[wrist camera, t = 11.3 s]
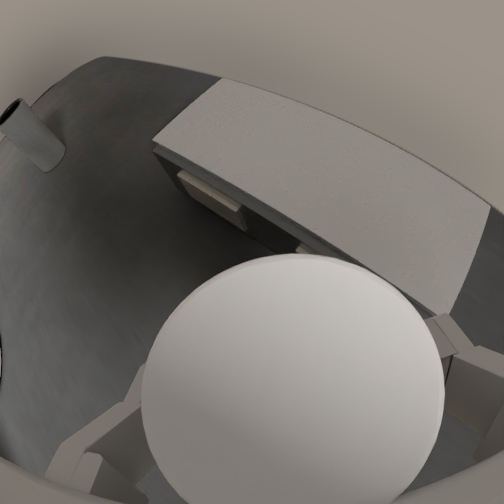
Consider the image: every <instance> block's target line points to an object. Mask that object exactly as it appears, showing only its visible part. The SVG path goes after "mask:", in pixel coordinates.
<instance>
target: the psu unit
mask: <svg viewBox="0 0 504 504" xmlns="http://www.w3.org/2000/svg"><path fill="white" fill-rule="evenodd" d="M152 141H153V142H154V144H155V145H156V147H155V148H154V149H153V150H152V151H153V153H154V154H155V156H156V157H157V159H158V160H159V162H160V163H161V165H162V166H163V167H164V169H165V170H166V172H167V173H168V175H169V176H170V178H171V179H172V181H173V182H174V184H175V185H176V187H177V188H178V189H179V190H181V191H182V192H184V193H185V194H187V195H188V196H190V197H191V198H193V199H194V200H196V201H197V202H199V203H201V204H202V205H204V206H205V207H207V208H208V209H210V210H211V211H213V212H214V213H216V214H217V215H219V216H220V217H222V218H223V219H225V220H226V221H228V222H229V223H231V224H232V225H234V226H235V227H237V228H238V229H240V230H241V231H243V232H244V233H246V234H247V235H249V236H250V237H252V238H253V239H255V240H256V241H258V242H259V243H261V244H262V245H264V246H265V247H267V248H268V249H270V250H271V251H273V252H274V253H276V254H277V255H280V254H291V253H294V254H313V255H322V256H328V257H333V258H338V259H340V260H343V261H346V262H349V263H352V264H355V265H358V266H360V267H363V268H365V269H367V270H368V271H370V272H372V273H374V274H376V275H377V276H379V277H380V278H382V279H384V280H385V281H387V282H388V283H389V284H391V285H392V286H393V287H395V288H396V289H397V290H398V291H399V292H400V293H401V294H402V295H403V296H404V297H405V298H406V299H407V300H408V301H409V302H410V303H411V304H412V305H413V307H414V308H415V309H416V310H417V312H418V313H419V314H420V316H421V317H422V319H423V320H425V319H429V318H430V317H433V316H437V315H440V314H443V313H447V314H449V313H450V311H451V309H452V307H453V304H454V302H455V300H456V298H457V296H458V294H459V291H460V289H461V287H462V285H463V282H464V280H465V278H466V275H467V273H468V270H469V268H470V266H471V263H472V260H473V258H474V255H475V253H476V250H477V247H478V244H479V242H480V239H481V236H482V233H483V230H484V227H485V224H486V220H487V217H488V214H489V211H490V207H491V206H489V205H488V204H487V203H485V202H484V201H483V200H481V199H480V198H478V197H477V196H476V195H474V194H473V193H471V192H470V191H468V190H467V189H465V188H464V187H462V186H461V185H459V184H458V183H456V182H455V181H453V180H452V179H450V178H449V177H447V176H446V175H444V174H442V173H441V172H439V171H438V170H436V169H434V168H433V167H431V166H429V165H428V164H426V163H424V162H422V161H421V160H419V159H417V158H416V157H414V156H412V155H410V154H408V153H407V152H405V151H403V150H401V149H399V148H397V147H396V146H394V145H392V144H390V143H388V142H386V141H384V140H382V139H380V138H378V137H376V136H374V135H372V134H370V133H368V132H366V131H364V130H362V129H360V128H358V127H356V126H353V125H351V124H349V123H347V122H345V121H342V120H340V119H338V118H335V117H333V116H331V115H328V114H326V113H324V112H321V111H319V110H316V109H314V108H311V107H309V106H306V105H304V104H301V103H298V102H296V101H293V100H290V99H288V98H285V97H282V96H279V95H276V94H273V93H271V92H268V91H265V90H262V89H258V88H255V87H252V86H249V85H246V84H242V83H239V82H235V81H232V80H228V79H225V78H222V79H221V80H220V81H218V82H217V83H216V84H214V85H213V86H212V87H211V88H209V89H208V90H207V91H206V92H205V93H203V94H202V95H201V96H200V97H199V98H197V99H196V100H195V101H194V102H193V103H191V104H190V105H189V106H188V107H187V108H186V109H185V110H183V111H182V112H181V113H180V114H179V115H178V116H177V117H176V118H174V119H173V120H172V121H171V122H170V123H169V124H168V125H167V126H166V127H165V128H164V129H162V130H161V131H160V132H159V133H158V134H157V135H156V136H155V137H154V138H153V139H152Z"/></svg>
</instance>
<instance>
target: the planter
mask: <svg viewBox="0 0 504 504" xmlns="http://www.w3.org/2000/svg"><path fill="white" fill-rule="evenodd" d="M0 131H1V132H2V133H3V134H4V135H5V136H6V137H7V138H8V139H9V140H10V141H11V142H12V143H13V144H14V145H15V146H16V147H17V148H18V149H20V150H21V151H22V152H23V153H24V154H25V155H26V156H27V157H28V158H29V159H30V160H31V161H32V162H33V163H34V164H35V165H36V166H37V167H39V168H40V169H41V170H42V171H43V172H48V171H50V170H52V169H53V168H54V167H56V166H57V164H58V163H59V162H60V161H61V159H62V158H63V156H64V154H65V146H64V145H63V144H62V143H61V141H60V140H59V139H58V138H57V137H56V136H55V135H54V134H53V133H52V132H51V130H50V129H49V128H48V127H47V126H46V125H45V124H44V123H43V122H42V120H41V119H40V118H39V117H38V116H37V115H36V114H35V112H34V111H33V110H32V109H31V108H30V107H29V106H28V104H27V103H26V102H25V101H24V100H23V99H22V98H19V99H17V100H15V101H14V102H13V103H12V104H11V105H10V106H9V107H8V108H7V109H6V110H5V111H4V113H3V114H2V115H1V117H0Z"/></svg>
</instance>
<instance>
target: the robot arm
mask: <svg viewBox="0 0 504 504" xmlns="http://www.w3.org/2000/svg"><path fill="white" fill-rule="evenodd" d="M423 321H424V322H425V324H426V326H427V327H428V329H429V331H430V333H431V335H432V337H433V339H434V342H435V344H436V347H437V350H438V353H439V356H440V360H441V363H442V369H443V375H444V389H445V398H444V409H445V410H446V411H448V412H449V413H450V414H452V415H453V416H455V417H456V418H458V419H459V420H460V421H462V422H463V423H465V424H466V425H468V426H469V427H471V428H472V429H473V430H475V431H476V432H478V433H479V434H481V435H482V436H484V439H483V440H482V442H481V443H480V445H479V447H478V448H477V450H476V451H475V453H474V455H473V456H474V458H475V461H476V463H477V464H476V465H474V466H472V467H470V468H468V469H465V470H463V471H461V472H459V473H456V474H454V475H452V476H449V477H447V478H445V479H442V480H440V481H437V482H435V483H432V484H429V485H426V486H424V487H421V488H418V489H415V490H412V491H409V492H406V493H403V494H400V495H399V496H398V497H397V498H396V499H395V500H394V501H392V502H391V503H389V504H504V355H502V354H499V353H497V352H494V351H492V350H489V349H487V348H484V347H482V346H476V347H474V345H473V344H472V343H471V342H470V340H469V339H468V338H467V336H466V335H465V334H464V333H463V331H462V330H461V329H460V328H459V326H458V325H457V324H456V323H455V321H454V320H453V319H452V318H451V317H450V315H449V314H447V313H443V314H440V315H437V316H433V317H430V318H429V319H425V320H423ZM145 365H146V363H144V364H143V365H141V367H140V369H139V371H138V373H137V375H136V377H135V379H134V381H133V383H132V385H131V387H130V389H129V391H128V393H127V395H126V397H125V399H124V401H123V402H118V403H117V404H116V405H114V406H113V407H111V408H110V409H109V410H107V411H106V412H105V413H103V414H102V415H100V416H99V417H98V418H96V419H95V420H94V421H92V422H91V423H89V424H88V425H87V426H85V427H84V428H82V429H81V430H80V431H78V432H77V433H75V434H74V435H72V436H71V437H70V438H68V439H67V440H65V441H64V442H62V443H61V444H60V446H59V448H58V450H57V452H56V454H55V455H54V457H53V459H52V461H51V463H50V465H49V467H48V469H47V471H46V473H45V475H44V477H41V476H39V475H37V474H35V473H32V472H30V471H28V470H26V469H24V468H21V467H19V466H17V465H15V464H13V463H11V462H9V461H7V460H5V459H4V458H2V457H0V504H148V498H147V496H146V495H144V494H143V493H142V492H141V491H140V490H138V489H137V488H136V487H135V486H136V485H137V484H138V483H139V482H140V481H141V480H142V479H143V478H144V476H145V475H146V474H147V473H148V472H149V471H150V470H151V469H152V468H153V467H154V466H155V465H156V464H157V463H156V461H155V459H154V457H153V455H152V453H151V451H150V448H149V445H148V442H147V438H146V434H145V430H144V426H143V420H142V412H141V388H142V380H143V375H144V370H145ZM0 375H1V350H0Z"/></svg>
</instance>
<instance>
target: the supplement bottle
mask: <svg viewBox="0 0 504 504" xmlns="http://www.w3.org/2000/svg"><path fill="white" fill-rule="evenodd" d="M444 398H445V389H444V375H443V369H442V363H441V360H440V356H439V353H438V350H437V347H436V344H435V342H434V339H433V337H432V335H431V333H430V331H429V329H428V327H427V326H426V324H425V322H424V321H423V319H422V317H421V316H420V314H419V313H418V312H417V310H416V309H415V308H414V307H413V305H412V304H411V303H410V302H409V301H408V300H407V299H406V298H405V297H404V296H403V295H402V294H401V293H400V292H399V291H398V290H397V289H396V288H395V287H393V286H392V285H391V284H389V283H388V282H387V281H385V280H384V279H382V278H380V277H379V276H377V275H376V274H374V273H372V272H370V271H368V270H367V269H365V268H363V267H360V266H358V265H355V264H352V263H349V262H346V261H343V260H340V259H338V258H333V257H328V256H322V255H313V254H294V253H291V254H280V255H273V256H267V257H261V258H257V259H253V260H250V261H247V262H244V263H241V264H239V265H236V266H234V267H231V268H229V269H227V270H225V271H223V272H221V273H219V274H217V275H216V276H214V277H213V278H211V279H209V280H208V281H206V282H205V283H203V284H202V285H200V286H199V287H198V288H197V289H195V290H194V291H193V292H192V293H191V294H190V295H189V296H187V297H186V298H185V299H184V300H183V301H182V302H181V303H180V304H179V305H178V307H177V308H176V309H175V310H174V311H173V312H172V314H171V315H170V316H169V318H168V319H167V320H166V322H165V323H164V325H163V327H162V328H161V330H160V331H159V333H158V335H157V337H156V339H155V342H154V344H153V346H152V349H151V351H150V353H149V356H148V359H147V362H146V365H145V370H144V375H143V380H142V388H141V412H142V420H143V426H144V430H145V434H146V438H147V442H148V445H149V448H150V451H151V453H152V455H153V457H154V459H155V461H156V463H157V465H158V467H159V469H160V470H161V472H162V473H163V475H164V477H165V478H166V480H167V481H168V482H169V483H170V485H171V486H172V487H173V488H174V489H175V490H176V492H177V493H178V494H179V495H180V496H181V497H182V498H183V499H184V500H185V501H186V502H188V503H189V504H389V503H391V502H392V501H394V500H395V499H396V498H397V497H398V496H399V495H400V494H401V493H402V492H403V491H404V490H405V489H406V488H407V487H408V486H409V485H410V483H411V482H412V481H413V480H414V478H415V477H416V476H417V474H418V473H419V472H420V470H421V468H422V467H423V465H424V464H425V462H426V460H427V458H428V456H429V454H430V452H431V450H432V448H433V446H434V444H435V442H436V439H437V435H438V432H439V429H440V425H441V421H442V415H443V409H444Z"/></svg>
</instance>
